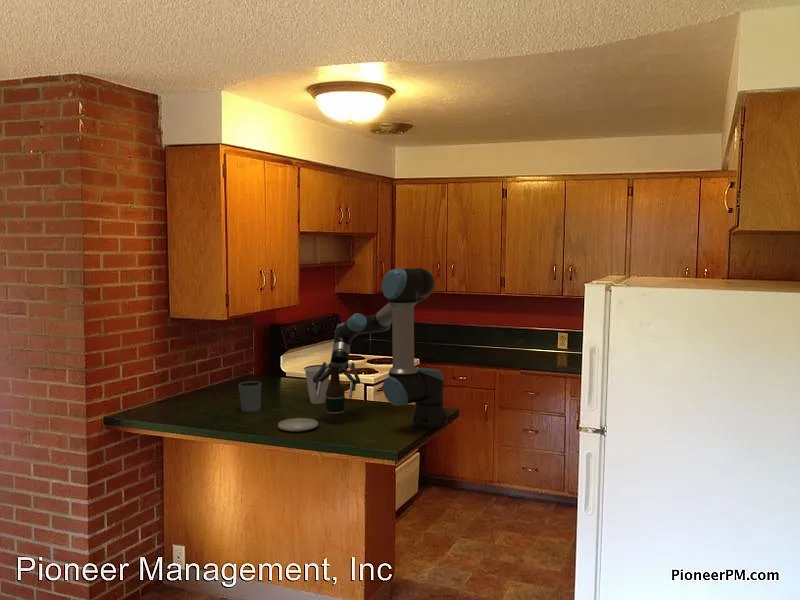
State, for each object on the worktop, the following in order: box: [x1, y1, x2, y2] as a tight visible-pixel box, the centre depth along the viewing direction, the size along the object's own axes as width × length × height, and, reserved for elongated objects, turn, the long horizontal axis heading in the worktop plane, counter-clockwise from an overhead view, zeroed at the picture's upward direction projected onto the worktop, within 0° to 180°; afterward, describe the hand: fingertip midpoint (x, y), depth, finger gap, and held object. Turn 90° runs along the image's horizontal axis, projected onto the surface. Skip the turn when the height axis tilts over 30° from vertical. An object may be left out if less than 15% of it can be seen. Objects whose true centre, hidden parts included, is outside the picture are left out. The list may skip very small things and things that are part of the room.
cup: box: [304, 366, 330, 405], centre depth 324 cm, size 12×12×16 cm
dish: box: [277, 417, 319, 433], centre depth 280 cm, size 16×16×2 cm
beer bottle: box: [325, 365, 346, 425], centre depth 289 cm, size 8×8×24 cm
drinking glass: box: [237, 380, 262, 413], centre depth 311 cm, size 10×10×12 cm
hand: (334, 396), depth 287 cm, fingers open, 13 cm apart
